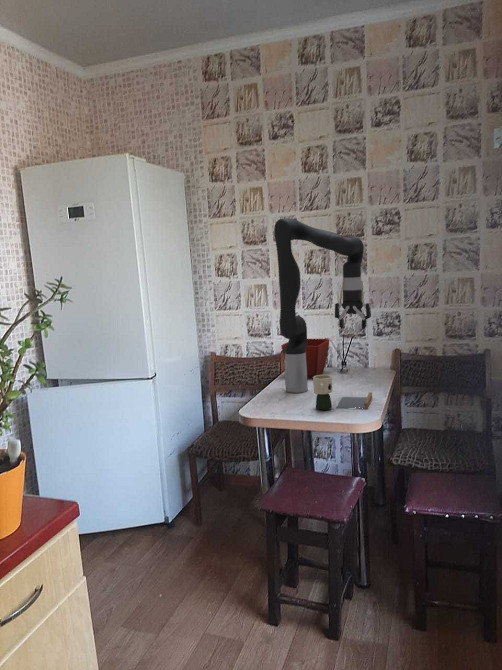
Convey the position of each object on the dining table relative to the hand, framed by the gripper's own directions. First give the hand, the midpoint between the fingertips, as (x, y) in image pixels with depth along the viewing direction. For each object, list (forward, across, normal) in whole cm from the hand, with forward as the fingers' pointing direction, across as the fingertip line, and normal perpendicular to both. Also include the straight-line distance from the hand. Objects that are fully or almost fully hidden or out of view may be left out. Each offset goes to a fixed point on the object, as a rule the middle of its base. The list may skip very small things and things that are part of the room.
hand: (352, 328), depth 216 cm
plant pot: (+30, -34, +37) cm, 58 cm away
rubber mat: (+29, +1, -7) cm, 30 cm away
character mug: (+29, -7, -17) cm, 35 cm away
